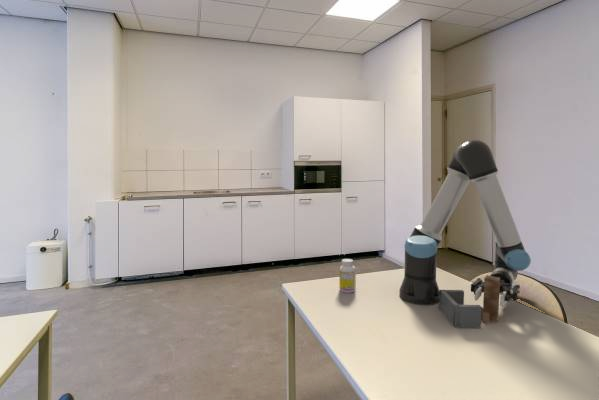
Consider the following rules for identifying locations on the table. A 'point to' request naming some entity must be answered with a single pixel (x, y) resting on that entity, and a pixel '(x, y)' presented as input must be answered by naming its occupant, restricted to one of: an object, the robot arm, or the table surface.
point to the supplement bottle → (347, 276)
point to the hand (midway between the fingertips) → (488, 299)
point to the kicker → (490, 299)
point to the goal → (459, 309)
